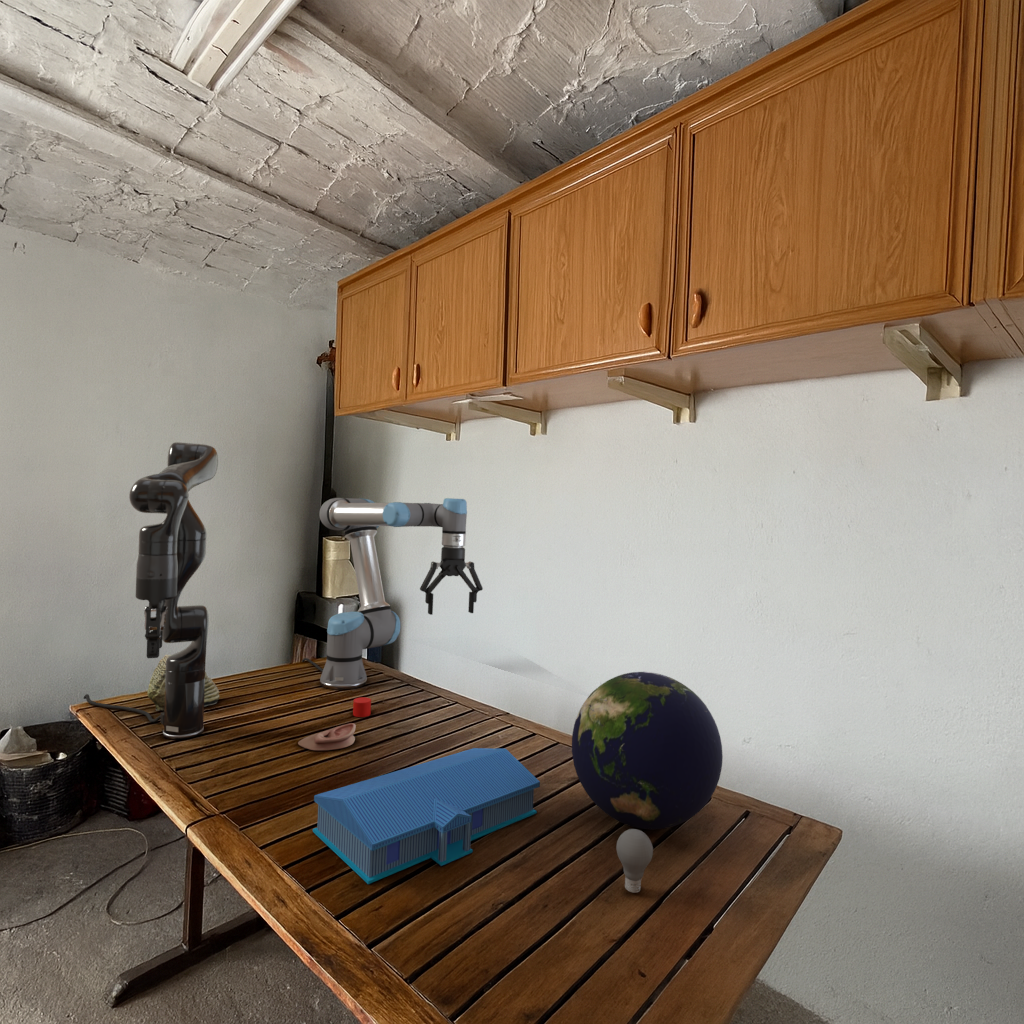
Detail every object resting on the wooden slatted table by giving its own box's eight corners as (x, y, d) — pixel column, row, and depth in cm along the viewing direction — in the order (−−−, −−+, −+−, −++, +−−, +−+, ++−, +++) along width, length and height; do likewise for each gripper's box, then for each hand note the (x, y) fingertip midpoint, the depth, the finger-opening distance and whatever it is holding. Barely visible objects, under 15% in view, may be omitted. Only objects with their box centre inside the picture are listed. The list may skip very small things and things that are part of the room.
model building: (378, 893, 102) (380, 832, 102) (311, 830, 120) (313, 778, 120) (548, 819, 128) (550, 770, 128) (472, 776, 146) (474, 733, 146)
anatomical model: (291, 731, 158) (315, 716, 169) (291, 747, 158) (314, 731, 169) (341, 738, 155) (361, 722, 167) (340, 754, 155) (360, 737, 167)
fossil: (144, 707, 182) (145, 655, 182) (212, 696, 194) (213, 647, 194) (151, 716, 175) (153, 662, 175) (221, 703, 188) (223, 653, 188)
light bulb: (610, 879, 108) (613, 822, 108) (644, 879, 109) (647, 822, 109) (619, 902, 102) (622, 840, 102) (655, 901, 103) (658, 840, 103)
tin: (364, 718, 182) (364, 703, 182) (349, 715, 183) (349, 701, 183) (374, 713, 186) (374, 698, 186) (359, 710, 188) (360, 696, 188)
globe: (548, 837, 121) (555, 681, 121) (589, 777, 149) (595, 650, 148) (711, 879, 110) (720, 707, 109) (723, 805, 138) (730, 668, 137)
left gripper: (175, 579, 127) (173, 660, 127) (179, 571, 140) (176, 644, 140) (132, 580, 124) (129, 662, 124) (139, 571, 137) (137, 646, 137)
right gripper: (418, 547, 193) (415, 616, 193) (494, 548, 203) (491, 614, 203) (412, 545, 200) (409, 612, 200) (485, 546, 210) (483, 609, 210)
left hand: (154, 652), depth 132 cm, fingers open, 8 cm apart
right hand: (450, 613), depth 202 cm, fingers open, 13 cm apart
